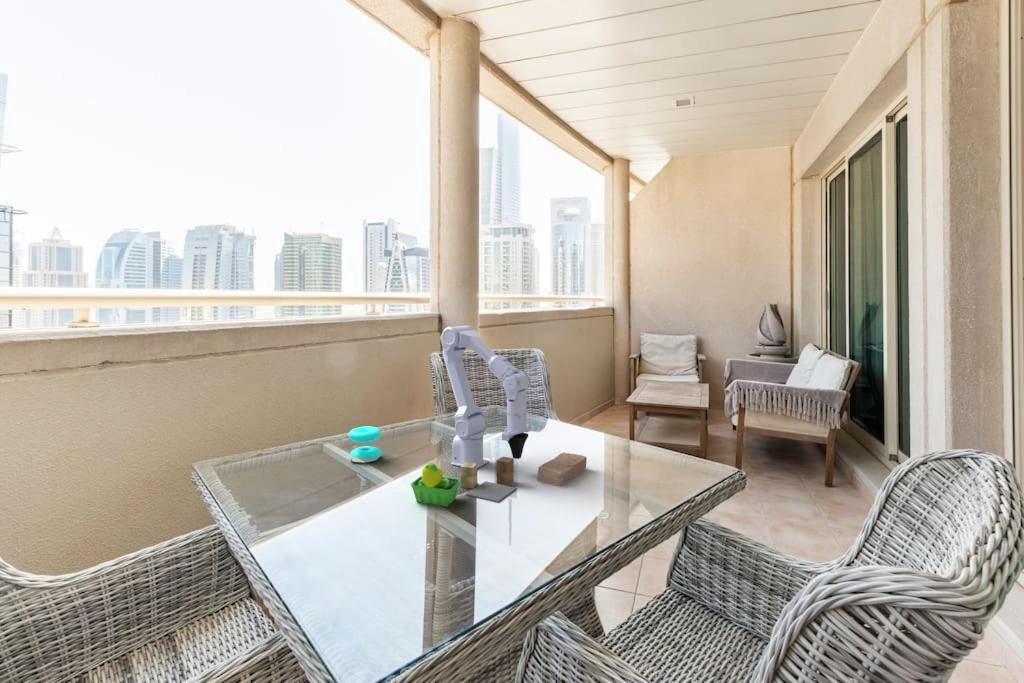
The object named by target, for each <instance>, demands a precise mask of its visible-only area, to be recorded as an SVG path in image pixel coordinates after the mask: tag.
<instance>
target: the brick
mask: <svg viewBox="0 0 1024 683" xmlns="http://www.w3.org/2000/svg"><path fill="white" fill-rule="evenodd" d="M587 460H588V458H587V456H584V455H582V454H575V453H569V452H564V451H563V452H562V453H560V454H558V455H557V456H555V457H554V458H553V459H551V460H548V461H546V462H544V463H543V464H541V465H539V466H538V467H537V477H536V478H537V481H538V482H540V483H544V484H548V485H551V486H555V487H558V488H560V487H563V486H564V485H566V484H567V483H568V482H570V481H572V480H573V479H575V478H576V477H579V476H578V475H580V474H582V473H583V472H584V471H586V469H587Z"/></svg>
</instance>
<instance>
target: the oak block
mask: <svg viewBox="0 0 1024 683" xmlns="http://www.w3.org/2000/svg"><path fill="white" fill-rule="evenodd" d="M460 480H461V481H460V488H462V489H471V490H473V489H474V488H476V487H477V485H478V468H477V463H466V462H465V463H464V464H463V465H462V466H460Z"/></svg>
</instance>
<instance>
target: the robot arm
mask: <svg viewBox="0 0 1024 683" xmlns="http://www.w3.org/2000/svg"><path fill="white" fill-rule="evenodd" d="M439 339H440V343H441V345H442V357H443V362H444V365H445V367H446V371H447V375H448V378H449V381H450V382H449V383H450V385H451V388H452V391H453V395H454V398H455V404H456V405H457V411H456V413H455V414H454V417H453V418H454V429H455V433H456V435H455V436H454V438H453V440H452V444H451V448H452V451H451V452H452V453H451V454H452V462H450V465H453V466H458V467H461V466H462V465H463V464H464V463H465V462H466V463H477V469H479V468H481V467H482V466H484V465H486V464H487V463H489V462H490V460H489V459H484V435H485V431H487V429H488V425H489V421H488V418H487V416H485V414H484V413H483V409H482V408H481V407H480V406H479V405H477V404H476V402H475V400H474V396H473V393H472V390H471V386H470V382H469V379H468V376H467V372H466V368H465V365H464V361H463V359H462V357H463V355H464V353H465V351H466V350H467V349H471V350H472V351H473V352H474V353H475V354H477V355H478V356H479V357H480V358H482V359H481V360H483V361H484V362H486V363H487V364H488V365H487V366H488V370H489V371H490V372H491V373H492V374H493V375H494V376H495V377H496V378H498V380H499V381H500V382H501V383H502V388H503V389H504V392H505V397H506V428H505V430H504V431H503V432H502V433H501V440H502V441H505V442H507V444H508V445H509V447H510V451H511V455H512V458H514V459H516V460H520V459H522V455H523V451H524V448H525V447H524V446H525V444H526V442H527V440H528V438H529V432H530V431H531V429H532V428H531V427H532V423H531V422H530V421H527V390H528V389H529V387H530V385H531V379H530V377H529V375H528V374H527V372H525V371H523V370H518V368H517V367H516V366H514V365H513V364H512V363H511V362H510V361H508V358H507V356H506V355H505V356H504V355H501V354H496V353H495V352H494V351H493V350H492V349H491V348H490V347H489V346H488V345H487V344H486V342H485V341H484V340H483V339H482V338H481V337H480V336H479V333H478V331H477V330H475V329H474V328H473V327H472V326H471V325H469V324H466V325H460V326H447V327H446V328H444V329H443V331H442V333H441V334H440V337H439Z"/></svg>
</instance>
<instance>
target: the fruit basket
mask: <svg viewBox="0 0 1024 683" xmlns="http://www.w3.org/2000/svg"><path fill="white" fill-rule="evenodd" d="M421 472H422V474H421V476H419V477H417V479H415V480H414V481H412V482H411V483H410V486H411V488H412V490H413V494H414V497H415V501H416V502H417V501H418V502H417V503H424V504H428V503H432V505H434V504H435V506H442V507H448V506H449V505H450V504H451V503H453V501H454V500H456V498H457V493H458V490H459V485H461V479H460V478H459V479H458V478H453V477H445V476H444V472H443V470H442V469H441V468H440V467H438V466H436V464H435V463H434V462H428V463H426V464H424V466H423V468H422V470H421Z"/></svg>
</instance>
